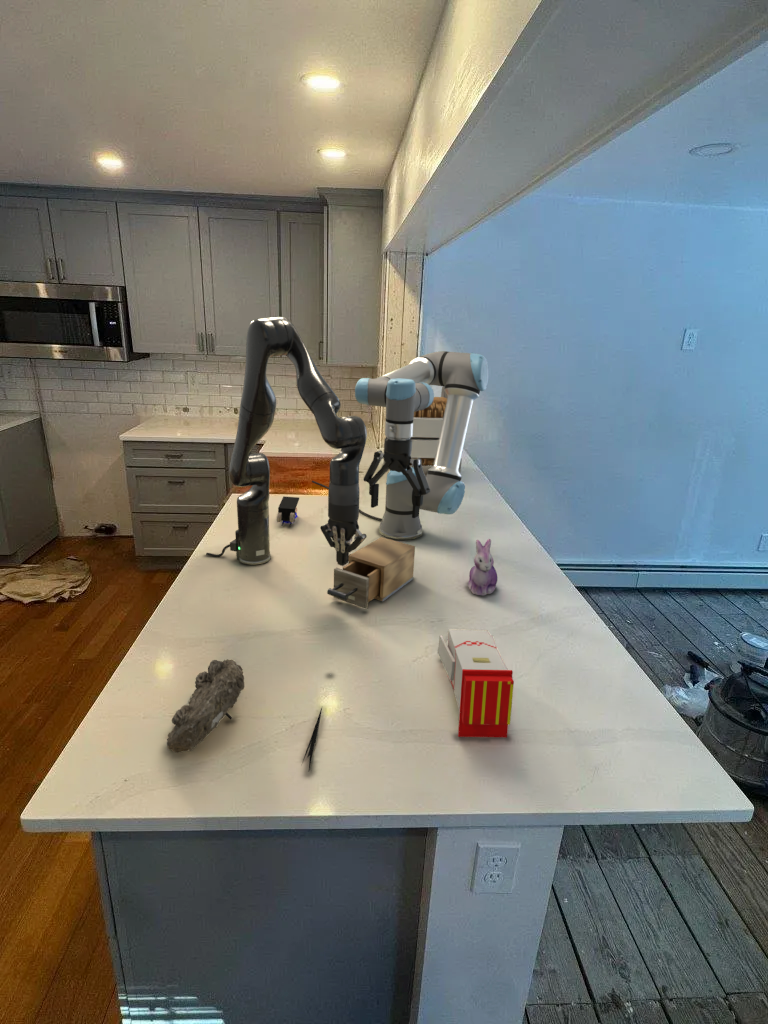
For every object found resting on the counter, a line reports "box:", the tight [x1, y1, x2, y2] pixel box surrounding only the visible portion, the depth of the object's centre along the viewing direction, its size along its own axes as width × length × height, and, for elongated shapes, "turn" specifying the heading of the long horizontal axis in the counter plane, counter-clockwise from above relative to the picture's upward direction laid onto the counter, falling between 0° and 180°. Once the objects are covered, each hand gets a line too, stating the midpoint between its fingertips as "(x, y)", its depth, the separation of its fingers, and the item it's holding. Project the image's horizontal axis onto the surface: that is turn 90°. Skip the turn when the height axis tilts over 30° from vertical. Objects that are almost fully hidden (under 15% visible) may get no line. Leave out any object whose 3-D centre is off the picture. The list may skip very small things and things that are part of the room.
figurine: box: [467, 538, 498, 596], centre depth 160 cm, size 9×10×15 cm
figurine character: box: [276, 495, 300, 527], centre depth 205 cm, size 7×8×15 cm
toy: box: [437, 628, 515, 738], centre depth 117 cm, size 12×13×30 cm
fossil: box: [166, 658, 245, 754], centre depth 106 cm, size 22×10×15 cm
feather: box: [301, 673, 332, 771], centre depth 108 cm, size 2×28×2 cm
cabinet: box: [347, 536, 416, 602], centre depth 161 cm, size 17×12×10 cm
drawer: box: [326, 561, 381, 609], centre depth 152 cm, size 22×10×8 cm, turn 148°
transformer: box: [382, 386, 463, 475], centre depth 268 cm, size 34×33×41 cm
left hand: (342, 564), depth 143 cm, fingers closed
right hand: (394, 511), depth 160 cm, fingers open, 13 cm apart
